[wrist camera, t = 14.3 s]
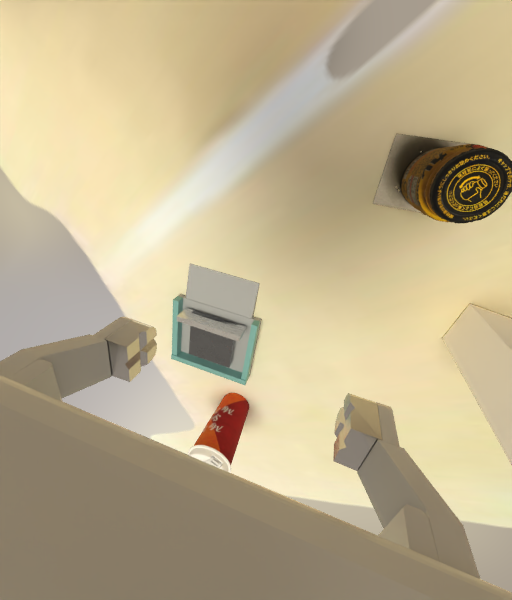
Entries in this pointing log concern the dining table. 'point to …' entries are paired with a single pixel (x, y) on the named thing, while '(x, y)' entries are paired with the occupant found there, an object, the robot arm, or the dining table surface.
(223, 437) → the paper cup
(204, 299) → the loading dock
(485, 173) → the condiment
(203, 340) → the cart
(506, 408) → the milk
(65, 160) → the dining table surface
